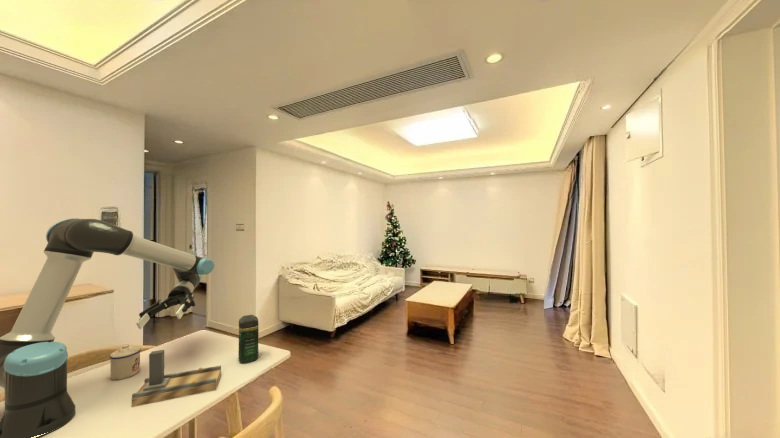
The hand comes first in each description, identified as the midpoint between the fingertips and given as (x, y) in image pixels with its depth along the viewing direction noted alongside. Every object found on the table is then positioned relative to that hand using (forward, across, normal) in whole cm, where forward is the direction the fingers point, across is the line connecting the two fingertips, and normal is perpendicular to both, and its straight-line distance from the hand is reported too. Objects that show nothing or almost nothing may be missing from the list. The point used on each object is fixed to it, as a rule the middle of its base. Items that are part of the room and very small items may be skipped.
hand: (158, 321), depth 110 cm
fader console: (+17, -8, -20) cm, 27 cm away
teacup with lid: (-1, +19, -20) cm, 28 cm away
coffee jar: (0, -25, -30) cm, 39 cm away
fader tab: (+17, -1, -16) cm, 23 cm away
